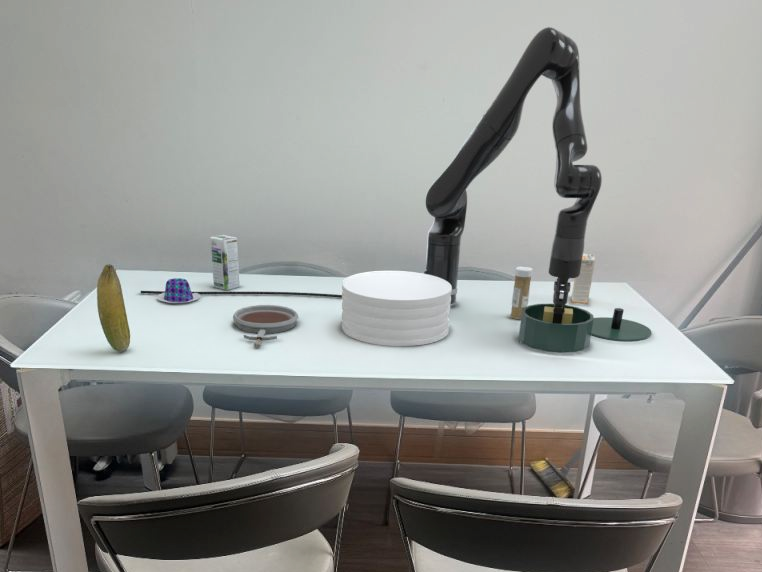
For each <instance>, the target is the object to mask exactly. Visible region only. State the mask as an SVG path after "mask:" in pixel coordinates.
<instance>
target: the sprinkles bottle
mask: <svg viewBox="0 0 762 572" xmlns="http://www.w3.org/2000/svg"><path fill="white" fill-rule="evenodd" d="M532 276H533V268H531V267H529V266H517V267H516V268H515V270H514V284H513V289H512V290H513V291H512V300H511V311H510V317H511V319H514V320H521V315H522V309H523V308H525V307H527V306H529V297H530V287H531V280H532V279H531V278H532Z"/></svg>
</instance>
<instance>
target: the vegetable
mask: <svg viewBox="0 0 762 572" xmlns="http://www.w3.org/2000/svg"><path fill="white" fill-rule="evenodd" d="M96 300H97V301H96V306H97V313H98V318H99V322H100V325H101V329H102V332H103V334H104V337H105V338H106V341H107V343H108V344H109V345H110V347H111V348H112V349H113V350H114V351H115V352H119V353H122V352H125V351H127V350H128V349H129V347H130V344H131V330H130V325H129V320H128V315H127V309H126V304H125V300H124V295H123V289H122V284H121V280H120V278H119V276H118V273H117V270H116V268H115V267H114V265H113V264H109V263H108V264H105V265H104V266H103V268H102V271H101V273H100V275H99V277H98V279H97V285H96Z"/></svg>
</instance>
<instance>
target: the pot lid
mask: <svg viewBox="0 0 762 572" xmlns="http://www.w3.org/2000/svg"><path fill="white" fill-rule="evenodd" d="M624 311H625V310H624V309H623V308H620V307H615V308H614V309H613V313H612V317H606V316H605V317H603V316H602V317H601V316H599V317H593V318H594V320H593V326H592V331H591V336H592V337H595V338H599V339H603V340H608V341H615V342H639V341H643V340H647V339H648V338H650V337H651V336H652V330H651V328H650V327H648V326H646V325H645V324H642V323H640V322H637V321H634V320H629V319H626V318H625V319H624V318H623V317H624Z"/></svg>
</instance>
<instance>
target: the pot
mask: <svg viewBox="0 0 762 572" xmlns="http://www.w3.org/2000/svg"><path fill="white" fill-rule="evenodd" d="M553 304H554V303H536V304H528V306H527V307H525V308H523V309H522V315H521V319H520V323H519V324H520V325H519V332H518V343H521V344H522V345H525V346H526V347H529V348H531V349H534V350H539V351H543V352H547V353H549V352H550V353H557V354H563V353H577V352H581V351H584V350H586V349H587V348H589V346H590V342H591V336H592V335H591V331H592V326H593V320H594V318H595V317H594V314H593V313H591V312H590V311H588V310H586V309H583V308H580V307H578V306H574V305H568V304H565V308H569V309H573V316H572V323H571V324H559V323H550V322H545V321H543V315H544V308H545V306H546V307H554V305H553Z"/></svg>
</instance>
